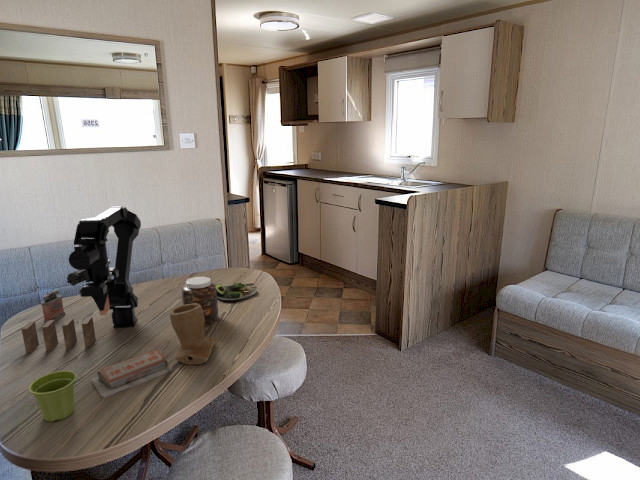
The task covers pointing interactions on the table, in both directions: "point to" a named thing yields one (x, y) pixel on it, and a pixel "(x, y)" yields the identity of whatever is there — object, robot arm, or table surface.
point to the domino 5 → (105, 307)
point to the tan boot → (191, 334)
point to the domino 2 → (50, 335)
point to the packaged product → (130, 373)
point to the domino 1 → (30, 337)
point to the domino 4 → (88, 331)
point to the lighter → (52, 306)
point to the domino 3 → (69, 333)
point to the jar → (202, 297)
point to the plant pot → (55, 394)
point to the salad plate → (233, 292)
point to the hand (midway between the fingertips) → (104, 307)
